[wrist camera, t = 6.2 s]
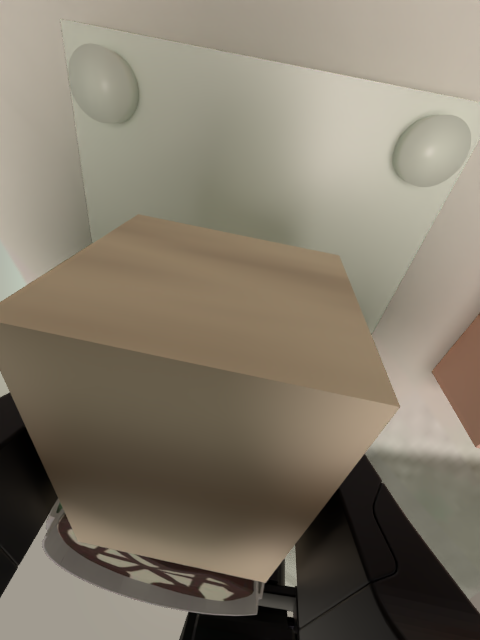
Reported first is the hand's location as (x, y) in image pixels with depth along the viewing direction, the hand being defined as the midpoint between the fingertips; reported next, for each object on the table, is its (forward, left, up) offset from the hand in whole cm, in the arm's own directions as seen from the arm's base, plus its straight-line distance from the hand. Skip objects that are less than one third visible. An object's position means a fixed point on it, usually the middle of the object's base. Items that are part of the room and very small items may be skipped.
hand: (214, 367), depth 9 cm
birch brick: (0, 0, -1) cm, 1 cm away
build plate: (0, 0, -7) cm, 7 cm away
